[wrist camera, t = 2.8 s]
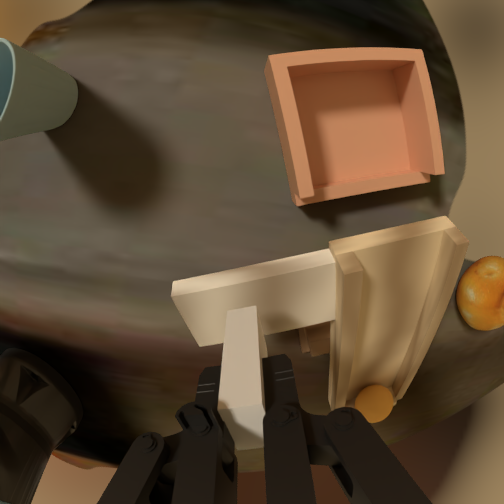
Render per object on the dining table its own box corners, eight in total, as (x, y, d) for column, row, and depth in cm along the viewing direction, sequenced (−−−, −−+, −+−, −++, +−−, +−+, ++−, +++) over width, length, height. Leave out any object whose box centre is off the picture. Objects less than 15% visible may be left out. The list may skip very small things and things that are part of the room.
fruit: (499, 229, 23) (522, 291, 18) (516, 267, 26) (533, 323, 21) (440, 264, 29) (452, 326, 24) (465, 296, 32) (475, 351, 26)
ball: (349, 404, 28) (359, 434, 25) (350, 383, 26) (361, 415, 23) (383, 394, 28) (395, 422, 24) (387, 372, 26) (401, 401, 23)
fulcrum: (301, 348, 30) (309, 379, 25) (290, 289, 27) (299, 316, 23) (407, 319, 29) (427, 344, 25) (409, 260, 27) (434, 280, 22)
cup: (91, 52, 19) (22, 20, 10) (89, 132, 22) (11, 134, 12) (29, 73, 19) (-43, 61, 9) (27, 146, 22) (-50, 158, 12)
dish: (292, 201, 25) (302, 212, 20) (264, 71, 21) (268, 55, 17) (417, 178, 24) (445, 186, 20) (396, 61, 20) (421, 49, 16)
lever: (248, 413, 30) (251, 439, 28) (169, 275, 17) (163, 319, 14) (394, 378, 30) (403, 402, 27) (445, 215, 16) (474, 246, 13)
